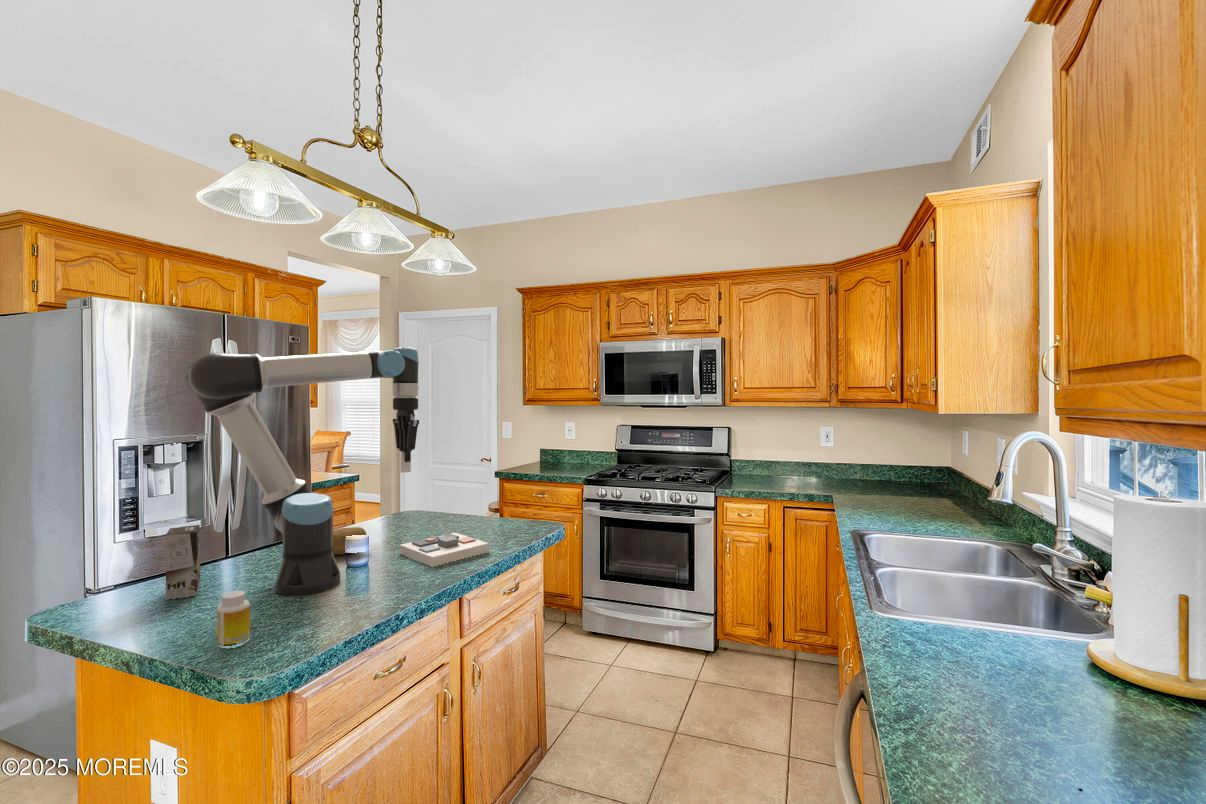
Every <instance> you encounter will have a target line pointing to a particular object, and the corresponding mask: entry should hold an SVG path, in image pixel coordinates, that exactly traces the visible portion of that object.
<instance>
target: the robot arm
mask: <svg viewBox="0 0 1206 804" xmlns="http://www.w3.org/2000/svg"><path fill="white" fill-rule="evenodd" d="M418 353H419V352H418V350H417V349H416V348H413V347H395V348H393V349H384V350H376V351H375V350H373V351H357V352H341V353H339V352H337V353H323V354H322V353H321V354H320V353H319V354H318V353H317V354H304V355H287V356H286V355H285V356H284V355H283V356H271V357H269V356H267V357H262V356H261V355H260V354H258V353H252V354H250V353H249V354H248V353H246V354H245V353H244V354H243V353H239V354H238V353H225V352H211V353H207V354H204V355H202V356H200V357H197V358H196V359H194V360H193V361H192V362H191V363H190V365H189V366H188V368H187V370H186V377H185V378H186V383H187V386H188V388H189V389H190V391H191V392H193V393H194V395H195V396H196V398H197V399H198V401H199V403H200V404H201V406H202V407H203V409H204V411H205V412H206V414H208V415H211V416H215V417H217V419H218V420H219V422H220V424H221V425H222V427H223V429H224V430H225V432H226V433H227V435H228V437H229V438H230V440H231V442H232V443H233V445H234V447H235V448H236V450H237V452H238V453H239V455H240V457H241V458H242V460H243V462H244V464H245V465H246V467H247V469H248V470H249V471H250V473H251V475H252V476H253V478H254V479H255V482H256V483H257V485H258V486H259V487H258V488H260V490H261V491H262V493H263V498H262V499H261V504H262V505H263V508H264V509H265V511H266V513H267V514H268V516H269V518H270V522H271V523H272V525H273V526H274V528H275V529H276V530H278V531H279V532H280V533H281V535H282V561H281V563H280V567H279V570H278V572H277V574H276V578H275V582H274V592H275V594H278V595H281V596H287V597H297V596H298V597H299V596H300V597H301V596H309V595H313V594H319V593H321V592H322V593H323V592H326V591H329V590H331V589H334V588H335V587H337V586H339V584H340V583H341V571H340V569H339V566H338V563H337V560H336V559H335V555H333V530H334V506H333V505H334V504H333V499H332V498H331V496H329V495H327V494H324V493H319V492H312V491H311V489H310V487H309V486H308V483H307V482H306V480H304V479H302V478H300V479H299V478H297V477H296V475H295V473H294V472H293V470H292V469H291V465H289V463H288V462H287V460H286V458H285V456H284V454H283V452H282V451H281V449H280V447H279V446H278V445H277V443H276V441H275V439H274V437H273V435H272V434H271V432H270V430H269V429H268V427H267V426H266V423H265V422H264V420H263V418H262V416H261V415H260V413H259V411H258V410H257V407H256V406H255V404H254V402H253V400H254V397H255V395H256V393H263V392H264V391H265V390H266V389H268V388H279V387H289V386H290V387H291V386H301V385H302V386H303V385H312V384H323V383H324V384H325V383H333V382H346V381H347V382H348V381H356V380H366V379H367V380H369V379H380V378H382V379H384V378H385V379H387V378H388V379H392V396H393V399H392V409H393V410H394V411H397V412H396V418H392V424H393V429H394V437H395V446H396V449H397V450H398V451H399V453H400V461H399V462H400V463H399V464H400V465H399V466H400V469H399V471H400V473H402V474H403V473H410V472H411V471H412V456H411V455H412V451H414V450H416V443H417V435H418V427H419V424H420V420H419V419H416V418H415V416H416V414H415V411H416V410H419V398H418V396H419V354H418Z"/></svg>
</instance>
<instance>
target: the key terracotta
mask: <svg viewBox="0 0 1206 804" xmlns="http://www.w3.org/2000/svg"><path fill="white" fill-rule="evenodd" d="M474 541H476V538H474V539H473V537H471V538H470V536H467V537H465V538H461V539H458V542H459V543H462V544H466V543H470V542H474Z"/></svg>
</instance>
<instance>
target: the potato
mask: <svg viewBox="0 0 1206 804" xmlns="http://www.w3.org/2000/svg"><path fill="white" fill-rule="evenodd" d="M352 535H366V536H367V532H366V530H365V529H364V528H363V527H360V526H355V527H354V526H353V527H340V528H337V529H336V528H335V529H333V555H334V556H344V555H346V554H345V538H346V536H352Z"/></svg>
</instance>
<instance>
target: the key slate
mask: <svg viewBox="0 0 1206 804" xmlns="http://www.w3.org/2000/svg"><path fill="white" fill-rule="evenodd" d="M419 550H420V551H422V552H425V553H429V552H433V551H437V550H440V548H439V547H436V546H433V545H430V546H426V547H422V548H419Z"/></svg>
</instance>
